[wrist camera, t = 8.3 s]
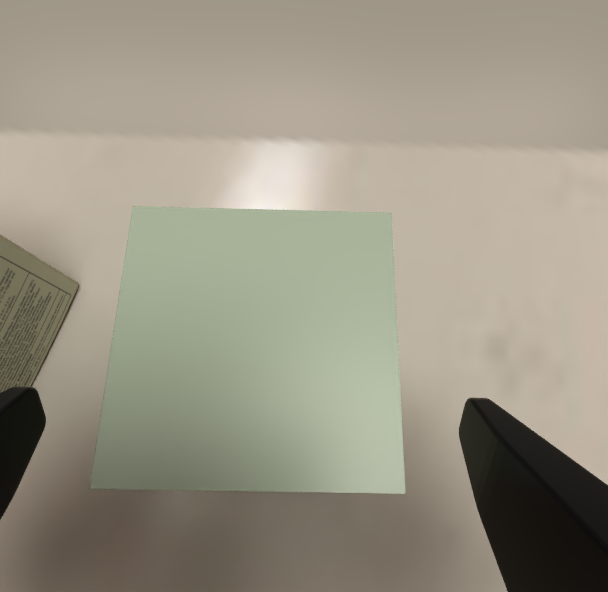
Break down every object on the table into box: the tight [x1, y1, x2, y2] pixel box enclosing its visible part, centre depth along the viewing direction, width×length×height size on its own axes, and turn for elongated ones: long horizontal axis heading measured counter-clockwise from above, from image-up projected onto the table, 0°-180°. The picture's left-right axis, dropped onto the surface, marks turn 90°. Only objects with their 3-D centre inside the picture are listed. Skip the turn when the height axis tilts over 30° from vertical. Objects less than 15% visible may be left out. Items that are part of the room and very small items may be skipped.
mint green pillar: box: [90, 206, 406, 494], centre depth 14 cm, size 6×6×10 cm
